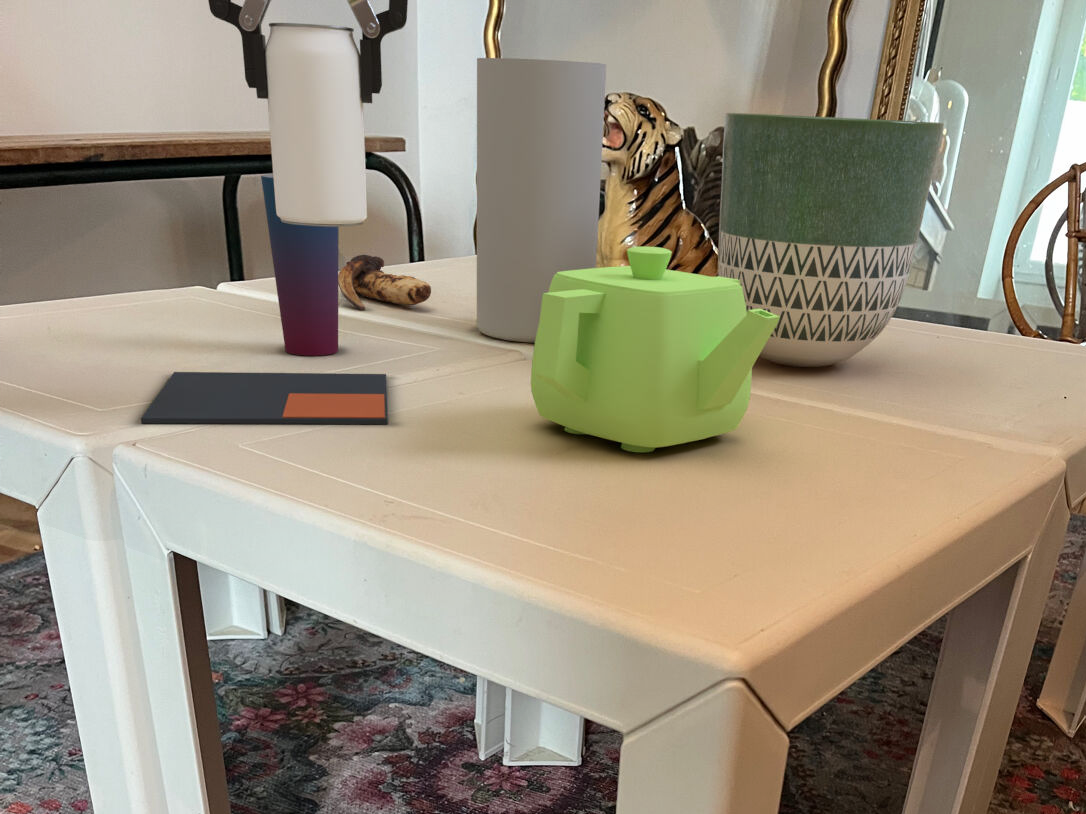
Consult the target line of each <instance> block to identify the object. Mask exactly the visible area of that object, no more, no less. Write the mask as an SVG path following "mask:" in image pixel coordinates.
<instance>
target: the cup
mask: <svg viewBox="0 0 1086 814" xmlns="http://www.w3.org/2000/svg"><path fill="white" fill-rule="evenodd" d="M260 178H261V179H260V180H261V185H262V192H263V200H264V207H265V214H266V221H267V228H268V235H269V243H270V249H271V250H270V251H271V256H272V258H271V259H272V264H273V272H274V279H275V286H276V292H277V293H276V294H277V300H278V307H279V313H280V314H279V315H280V321H281V329H282V336H283V345H284V350H285V352H286V353H287V354H291V355H296V356H303V357H318V356H319V357H320V356H329V355H334V354H336V353H338V352H339V285H338V275H339V227H325V226H305V225H295V224H288V223H284V222H282V221H281V218H280V217H278V216H277V213H276V203H275V191H274V178H273V173H267V174H261V175H260Z"/></svg>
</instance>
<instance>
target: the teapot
mask: <svg viewBox="0 0 1086 814" xmlns="http://www.w3.org/2000/svg"><path fill="white" fill-rule="evenodd" d="M626 253H627V258H628V262H629V265H621V266H605V267H596V268H592V269H580V270H569V271H561V272H557V273H556V275H554V277H553V279H552V282H551V285H550V288H549V291H548V293H543V297H542V305H541V313H540V321H539V326H538V330H537V335H536V340H535V343H534V345H533V346H534V347H533V352H532V361H531V370H530V389H531V390H530V391H531V394H532V398H533V401H534V404H535V407H536V410H537V412H538V414H539V416H540V417H542V418H543V419H545V420H548V421H550V422H553V423H556V424H557V425H561V426H563V427H564V428H563V431H565V432H567V433H569V434H575V435H590V436H594V437H598V438H601V439H606V440H609V441H613V442H618V443H621V445H620V448H621V449H622V450H624V451H627V452H630V453H631V452H633V453H649V452H650V453H651V452H653V451H655V450H656V448H664V447H671V446H676V445H680V444H685V443H691V442H696V441H699V440H700V441H701V440H706V439H708V438H712V437H716V436H719V435H723V434H727V433H730V432H733V431H735V430H737V429H738V428H739V426H740V424H741V422H742V420H743V418H744V417H745V414H746V412H747V409H748V408H749V404H750V400H751V393H752V392H751V391H752V373H753V369H752V368H753V366H754V365H755V363H756V361H757V359H758V358H759V357H760V356H759V354H760V353H761V351H762V349H763V348H764V346H765V344H766V342H767V341H768V339H769V337H770V336H771V334H772V332H773V330H774V329H775V327H776V325H777V324H778V322H779V319H780V316H777V315H775V314H772V313H770V312H767V311H765V310H762V309H753V310H748V311H746V304H745V298H744V294H743V289H742V286H740V280H738V279H732V278H726V277H720V276H718V275H717V276H709V275H704V274H699V273H698V274H697V273H692V272H687V271H686V272H685V271H680V270H673V269H667V268H668V265H669V263H670V261H671V258H672V254H673V251H671V250H670V249H669V248H665V247H664V248H663V247H659V246H631V247H629V248H627V249H626Z"/></svg>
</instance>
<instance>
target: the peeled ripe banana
mask: <svg viewBox="0 0 1086 814" xmlns="http://www.w3.org/2000/svg"><path fill="white" fill-rule="evenodd" d="M384 267H385V261H384V259H383V258H382V257H380V256H372V255H369V254H359V255H355V256H353V257H352V258H351V259H350V261H346V265H345V266H343V267H342V268H341V269H340V271H338V289H339V290H340V292H341V294H342V295H343V296H344V298H345V299H346V300H347V302H348V303H350V304H351V305H352V306H353V307H354V308H356V309H358V310H361V311H363V310H364V311H365V310H366V306H365V305H364V304H363V302H362V301H361V299H360V298H359V296H358V295H360V296H363V297H365V298H369V299H374V300H379V301H381V302H385V303H391V304H396V305H403V306H404V305H405V306H415V305H419V304H421V303H424V302H426V301H427V300H429V298H431V297H430V296H431V295H432V286H431V285H430V283H428V282H426V281H424V280H421V279H418V278H416V277H414V276H411V275H405V274H401V275H397V274H393V273H385V272H384V271H383V270H381V269H382V268H384Z"/></svg>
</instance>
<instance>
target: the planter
mask: <svg viewBox="0 0 1086 814" xmlns="http://www.w3.org/2000/svg"><path fill="white" fill-rule="evenodd" d="M944 127H945V124H944V123H943V122H936V121H935V122H934V121H933V122H931V121H917V120H916V121H915V120H914V121H913V120H897V119H896V120H895V119H894V120H893V119H876V118H875V119H874V118H857V117H855V118H853V117H835V116H833V117H832V116H811V115H791V114H790V115H789V114H768V113H767V114H766V113H743V112H726V113H725V115H724V127H723V143H722V162H721V163H722V166H721V167H722V168H721V186H720V187H721V188H720V203H719V225H718V246H717V247H718V248H717V249H718V250H717V276H720V277H726V278H732V279H738V280H740V286H742V289H743V294H744V298H745V304H746V311H748V310H753V309H762V310H765V311H767V312H770V313H772V314H775V315H777V316H780V319H779V322H778V324H777V325H776V327H775V329H774V330H773V332H772V334H771V336H770V337H769V339H768V341H767V342H766V344H765V346H764V348H763V349H762V351H761V353H760V354H759V356H758V357H761V358H763V359H765V360H767V361H770V362H772V363H776V364H779V365H783V366H789V367H799V368H819V367H828V366H832V365H836V364H839V363H841V362H844V361H846V360H848V359H850V358H852V357H853V356H855V355H857V354H858V353H859V352H861V351H862V350H863V349H865V348H867V346H869V345H870V344H871V343H872V342H873V341H874V340H875V339H876V338H878V336H879V335H880V334H881V333H882V332H883V331H884V329H885V328H886V327H887V325H888V324H889V323H890V321H891V319H892V318H893V316H894V314H895V312H896V310H897V308H898V306H899V303H900V301H901V298H902V297H903V294H904V291H905V289H906V286H907V283H908V280H909V277H910V276H909V275H910V273H911V268H912V264H913V260H914V255H915V252H916V248H917V244H918V239H919V235H920V231H921V227H922V224H923V219H924V214H925V211H926V205H927V201H928V197H929V192H930V187H931V184H932V179H933V176H934V171H935V168H936V164H937V159H938V155H939V150H940V145H941V143H942V142H941V141H942V137H943V132H944Z"/></svg>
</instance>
